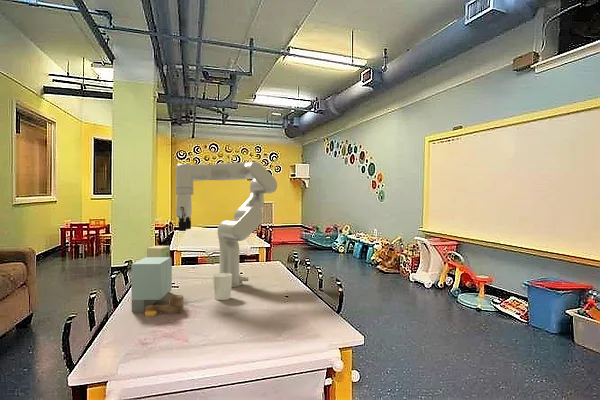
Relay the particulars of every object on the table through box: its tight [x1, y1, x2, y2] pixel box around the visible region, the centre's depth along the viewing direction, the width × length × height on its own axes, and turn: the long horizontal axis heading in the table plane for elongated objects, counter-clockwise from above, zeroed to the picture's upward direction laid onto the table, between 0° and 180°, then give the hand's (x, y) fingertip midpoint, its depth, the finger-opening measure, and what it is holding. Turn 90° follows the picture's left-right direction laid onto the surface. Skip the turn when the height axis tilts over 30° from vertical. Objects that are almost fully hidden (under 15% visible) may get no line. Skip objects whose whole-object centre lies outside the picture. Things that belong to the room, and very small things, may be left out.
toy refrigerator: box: [146, 245, 171, 293], centre depth 177 cm, size 8×7×21 cm
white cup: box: [212, 272, 232, 301], centre depth 170 cm, size 8×8×10 cm
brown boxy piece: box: [144, 294, 184, 314], centre depth 149 cm, size 13×4×6 cm, turn 93°
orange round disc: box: [144, 310, 157, 318], centre depth 146 cm, size 4×4×2 cm
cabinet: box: [130, 256, 173, 313], centre depth 158 cm, size 11×16×18 cm
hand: (184, 230), depth 178 cm, fingers open, 9 cm apart
